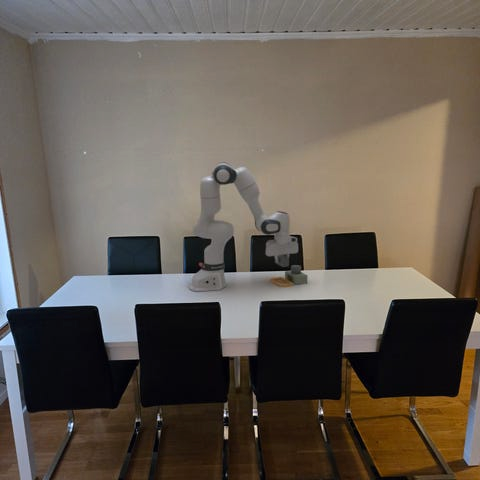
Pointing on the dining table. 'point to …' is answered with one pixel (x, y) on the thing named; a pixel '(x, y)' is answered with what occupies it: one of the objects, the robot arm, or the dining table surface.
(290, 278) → the grey and tan shapes
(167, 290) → the dining table surface
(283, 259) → the dark grey block
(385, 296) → the dining table surface
